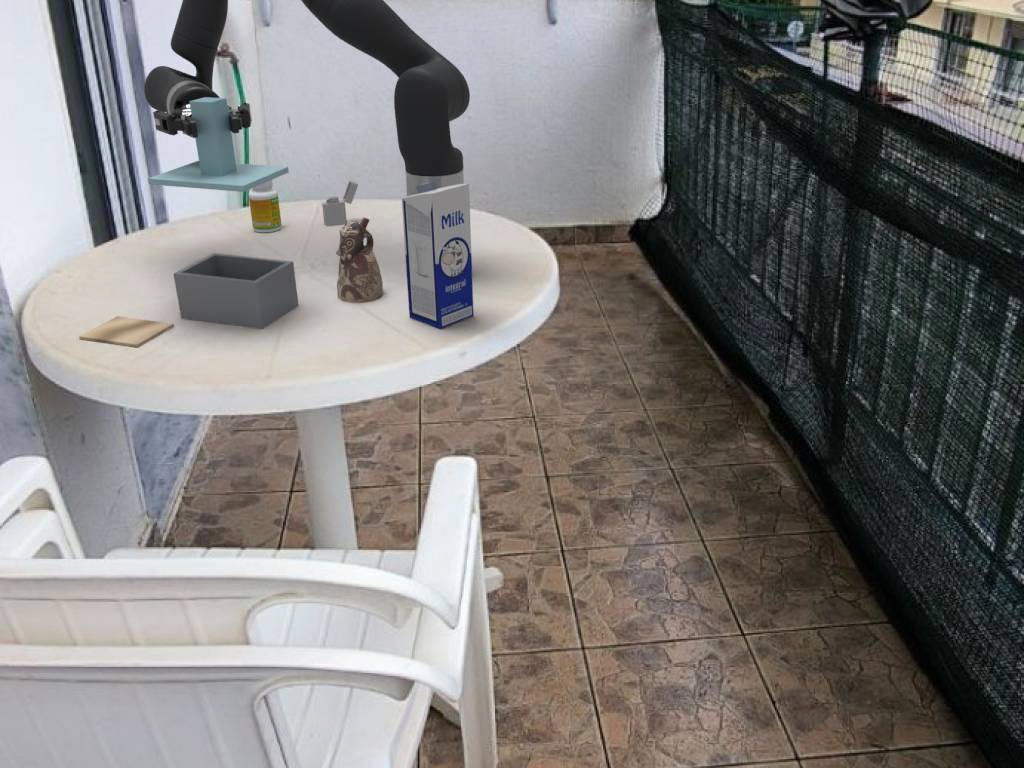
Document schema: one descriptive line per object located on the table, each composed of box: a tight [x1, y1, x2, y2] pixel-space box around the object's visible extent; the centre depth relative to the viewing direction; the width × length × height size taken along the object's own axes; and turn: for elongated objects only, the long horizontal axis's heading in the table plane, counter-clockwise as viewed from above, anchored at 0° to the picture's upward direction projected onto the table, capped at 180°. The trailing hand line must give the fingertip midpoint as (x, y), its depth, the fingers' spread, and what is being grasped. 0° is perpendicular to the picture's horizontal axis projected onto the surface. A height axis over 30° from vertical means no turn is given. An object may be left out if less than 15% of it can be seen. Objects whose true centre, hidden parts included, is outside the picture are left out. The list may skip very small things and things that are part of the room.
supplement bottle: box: [248, 179, 282, 234], centre depth 179 cm, size 5×5×10 cm
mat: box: [78, 315, 175, 348], centre depth 135 cm, size 10×8×1 cm
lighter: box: [321, 180, 359, 227], centre depth 183 cm, size 7×2×8 cm, turn 116°
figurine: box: [335, 217, 384, 303], centre depth 146 cm, size 7×7×12 cm
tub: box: [173, 252, 299, 330], centre depth 141 cm, size 14×10×7 cm
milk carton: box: [400, 181, 474, 330], centre depth 135 cm, size 7×7×20 cm
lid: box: [147, 97, 290, 193], centre depth 131 cm, size 15×11×11 cm
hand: (215, 127), depth 128 cm, fingers closed on lid, 5 cm apart
